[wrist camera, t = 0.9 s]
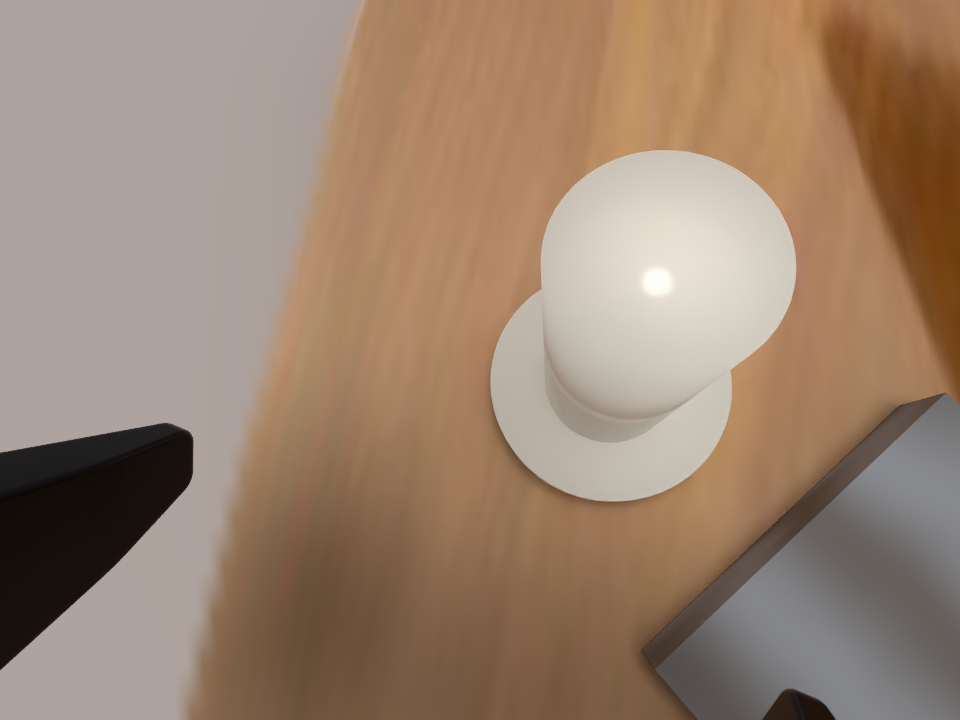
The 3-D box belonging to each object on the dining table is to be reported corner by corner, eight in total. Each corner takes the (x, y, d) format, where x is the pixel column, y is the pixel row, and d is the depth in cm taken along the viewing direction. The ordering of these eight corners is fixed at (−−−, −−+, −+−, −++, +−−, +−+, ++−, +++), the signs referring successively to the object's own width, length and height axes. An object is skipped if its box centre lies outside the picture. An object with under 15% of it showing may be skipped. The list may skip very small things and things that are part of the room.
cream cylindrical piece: (588, 549, 21) (640, 609, 9) (453, 373, 23) (351, 234, 11) (764, 408, 22) (1036, 288, 10) (615, 249, 24) (684, -11, 12)
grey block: (962, 1026, 17) (1032, 1114, 14) (642, 649, 20) (654, 669, 18) (1251, 715, 18) (1362, 748, 15) (900, 405, 21) (945, 392, 19)
